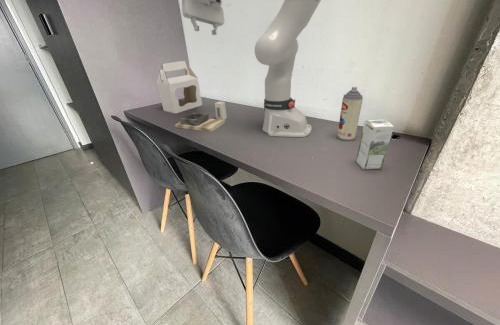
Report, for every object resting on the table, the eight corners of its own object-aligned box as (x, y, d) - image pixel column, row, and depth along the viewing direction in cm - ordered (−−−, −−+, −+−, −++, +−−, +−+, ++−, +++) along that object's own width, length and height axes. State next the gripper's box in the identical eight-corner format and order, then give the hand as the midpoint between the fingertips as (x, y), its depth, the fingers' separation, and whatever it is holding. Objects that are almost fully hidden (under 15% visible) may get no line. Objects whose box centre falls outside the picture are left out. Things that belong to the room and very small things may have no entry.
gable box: (190, 102, 157) (182, 60, 144) (202, 105, 150) (195, 60, 136) (163, 111, 143) (151, 64, 129) (175, 113, 135) (163, 64, 121)
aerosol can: (335, 134, 93) (342, 85, 84) (351, 134, 93) (361, 85, 83) (339, 141, 87) (347, 89, 78) (357, 140, 87) (367, 88, 77)
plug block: (226, 118, 122) (224, 101, 117) (222, 120, 118) (220, 104, 114) (220, 117, 123) (218, 101, 119) (216, 120, 120) (214, 103, 115)
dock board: (225, 122, 115) (224, 114, 113) (211, 131, 105) (210, 122, 103) (191, 119, 123) (189, 111, 121) (175, 127, 113) (173, 118, 111)
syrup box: (372, 160, 73) (382, 118, 66) (382, 169, 68) (394, 125, 61) (355, 161, 73) (363, 119, 66) (363, 170, 68) (374, 126, 61)
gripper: (184, -14, 86) (189, 25, 89) (224, 1, 100) (227, 35, 103) (176, -8, 90) (181, 30, 94) (216, 6, 104) (219, 38, 108)
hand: (205, 32), depth 99 cm, fingers open, 8 cm apart
